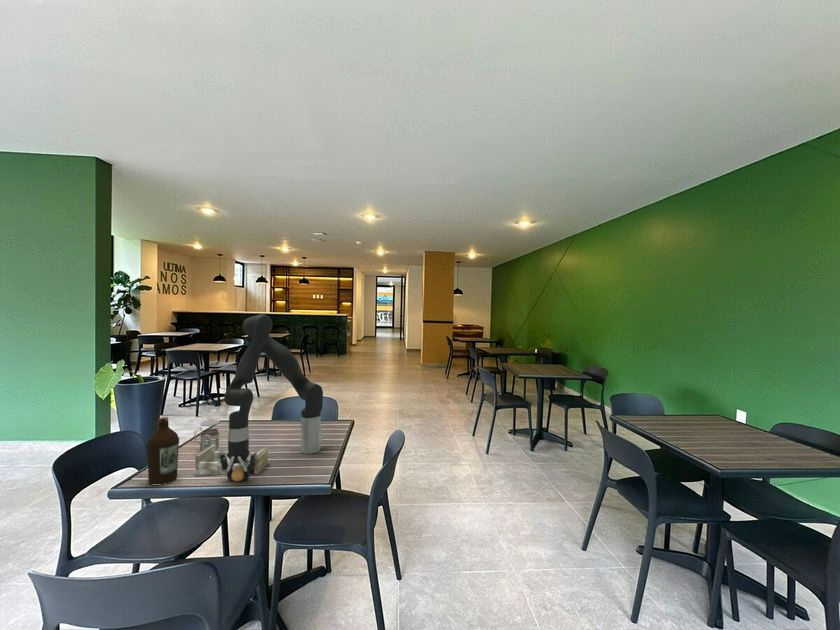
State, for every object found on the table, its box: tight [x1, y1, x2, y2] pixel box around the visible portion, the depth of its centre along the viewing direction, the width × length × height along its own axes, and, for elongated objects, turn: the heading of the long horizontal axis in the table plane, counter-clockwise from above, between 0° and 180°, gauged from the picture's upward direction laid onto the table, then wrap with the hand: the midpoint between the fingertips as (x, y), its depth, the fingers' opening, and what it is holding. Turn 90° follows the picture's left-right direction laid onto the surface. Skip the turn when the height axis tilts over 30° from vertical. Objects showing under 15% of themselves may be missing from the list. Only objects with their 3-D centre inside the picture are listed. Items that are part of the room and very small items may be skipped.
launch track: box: [194, 444, 269, 476], centre depth 158 cm, size 26×12×8 cm, turn 91°
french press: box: [193, 399, 222, 455], centre depth 176 cm, size 10×12×25 cm
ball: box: [231, 468, 244, 482], centre depth 147 cm, size 5×5×5 cm
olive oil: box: [146, 416, 180, 485], centre depth 146 cm, size 11×11×25 cm
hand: (238, 479), depth 147 cm, fingers open, 5 cm apart
